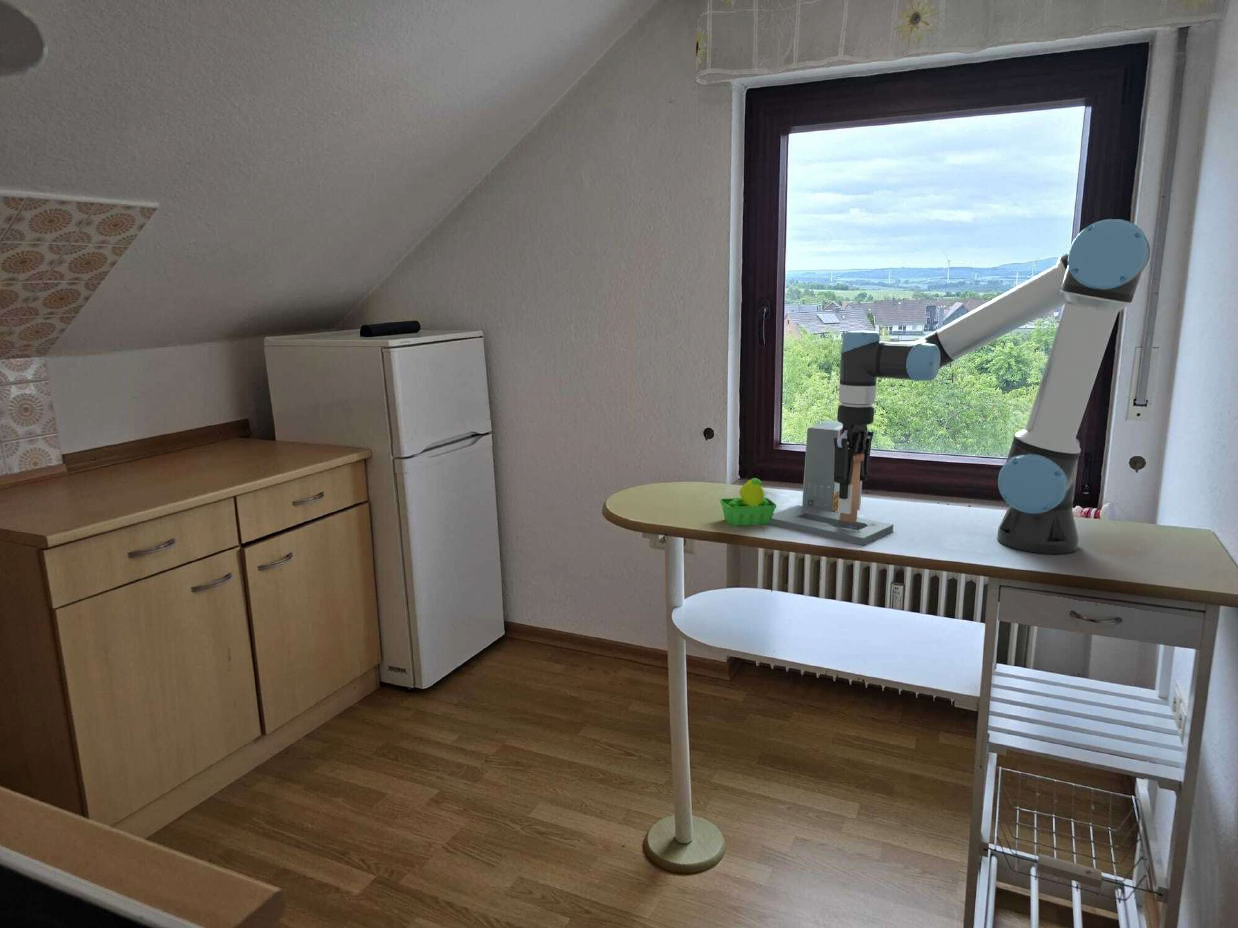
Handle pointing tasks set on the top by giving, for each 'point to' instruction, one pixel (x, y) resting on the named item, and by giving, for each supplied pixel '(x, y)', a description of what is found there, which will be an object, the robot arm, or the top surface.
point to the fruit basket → (748, 506)
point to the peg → (854, 489)
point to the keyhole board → (822, 522)
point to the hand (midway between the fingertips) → (849, 510)
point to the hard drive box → (821, 467)
